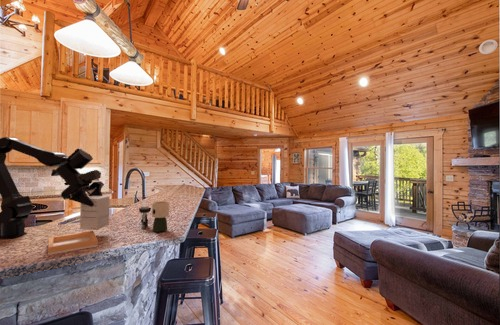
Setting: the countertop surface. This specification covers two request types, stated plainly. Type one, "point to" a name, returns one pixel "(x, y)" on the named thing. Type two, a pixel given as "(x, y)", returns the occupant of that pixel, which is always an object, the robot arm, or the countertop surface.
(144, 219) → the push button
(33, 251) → the countertop surface
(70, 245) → the shallow wooden tray
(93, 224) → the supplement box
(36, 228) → the countertop surface
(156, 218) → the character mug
